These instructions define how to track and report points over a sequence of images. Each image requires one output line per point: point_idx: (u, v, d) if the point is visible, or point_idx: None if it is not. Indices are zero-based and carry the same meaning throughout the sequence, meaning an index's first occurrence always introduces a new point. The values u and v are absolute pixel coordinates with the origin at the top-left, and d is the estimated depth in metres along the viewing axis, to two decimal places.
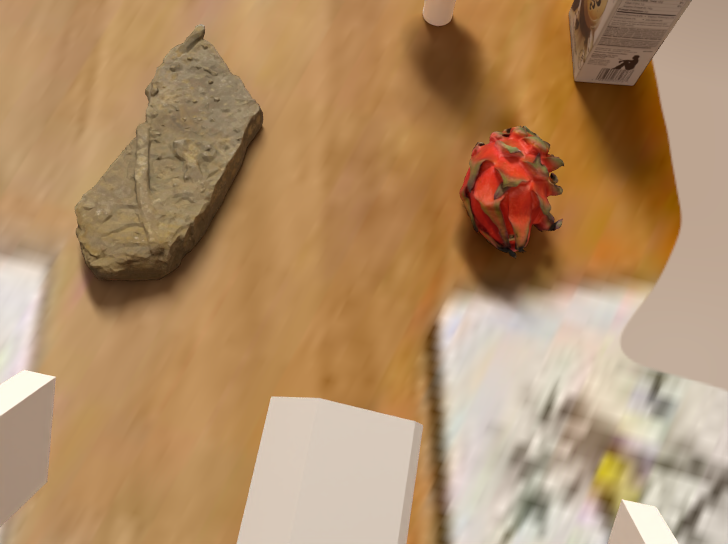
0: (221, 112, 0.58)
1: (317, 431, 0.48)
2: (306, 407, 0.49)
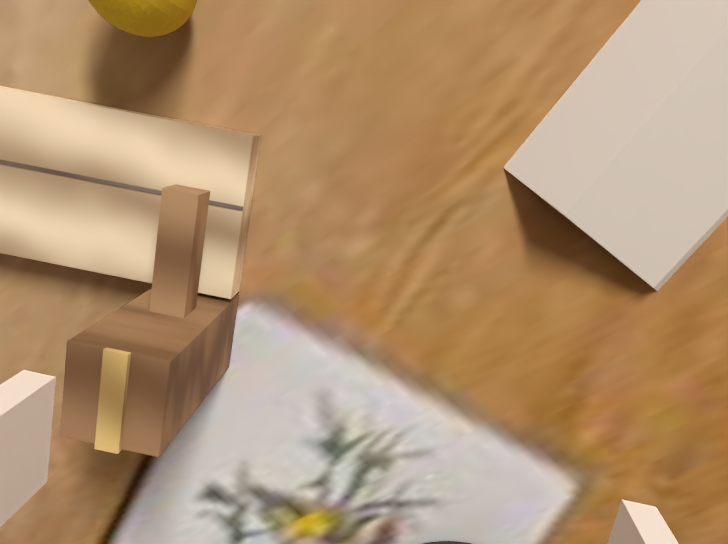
0: None
1: None
2: None
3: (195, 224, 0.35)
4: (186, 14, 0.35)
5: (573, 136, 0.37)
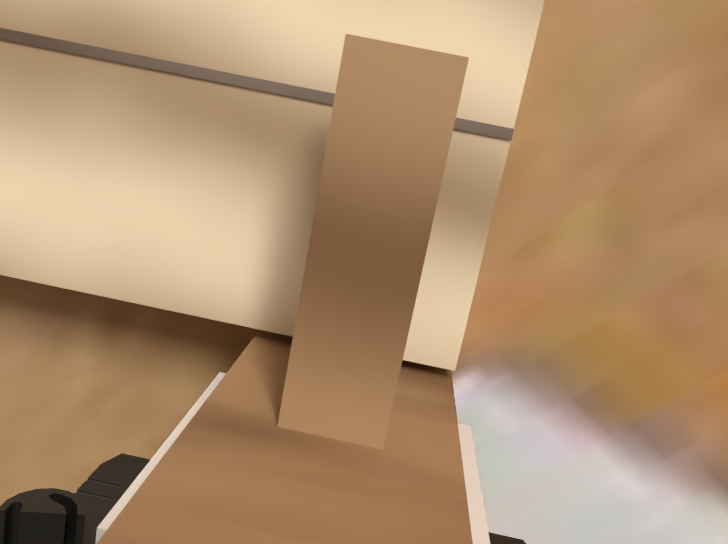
0: None
1: None
2: None
3: None
4: None
5: None
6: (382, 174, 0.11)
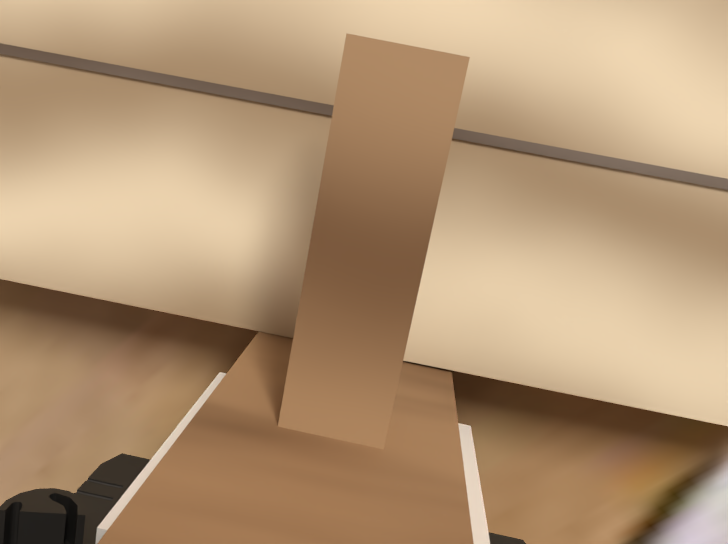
0: None
1: None
2: None
3: None
4: None
5: None
6: (383, 174, 0.11)
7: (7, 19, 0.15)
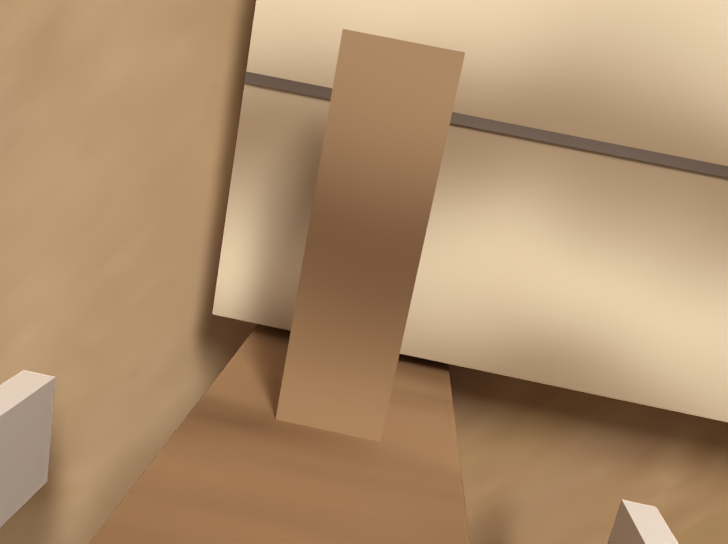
0: None
1: None
2: None
3: (442, 154, 0.11)
4: None
5: None
6: (379, 168, 0.11)
7: None
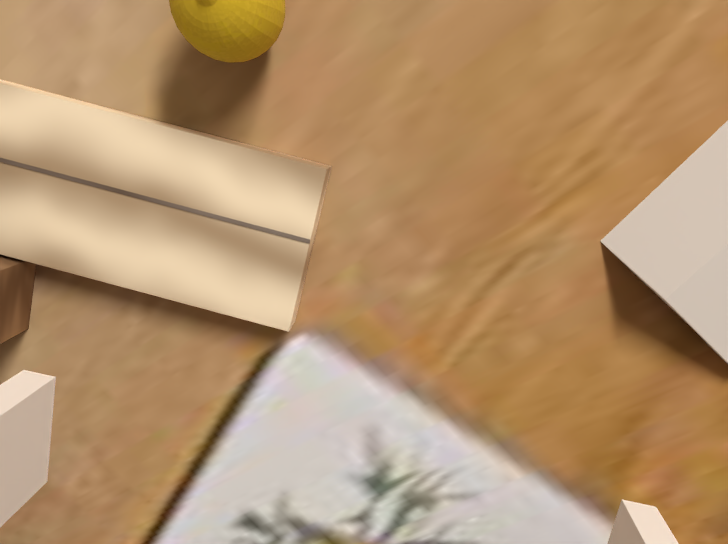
0: None
1: None
2: None
3: None
4: (272, 42, 0.34)
5: (679, 219, 0.36)
6: None
7: None
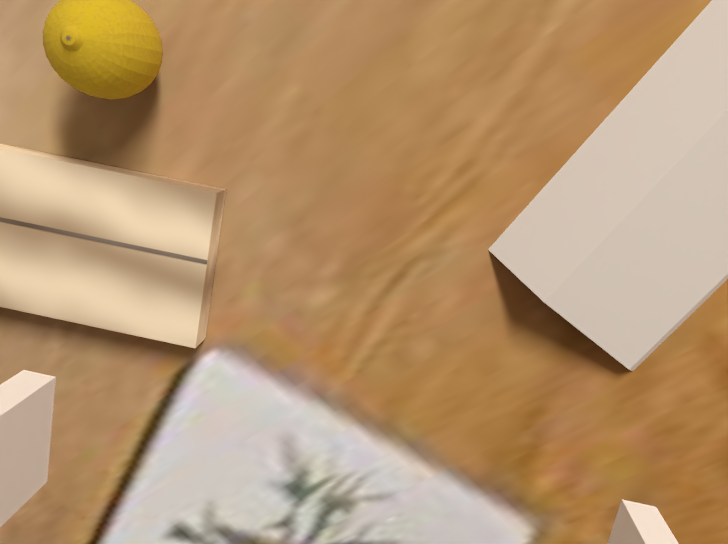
0: None
1: None
2: None
3: None
4: (150, 78, 0.36)
5: (555, 225, 0.38)
6: None
7: None
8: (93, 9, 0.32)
